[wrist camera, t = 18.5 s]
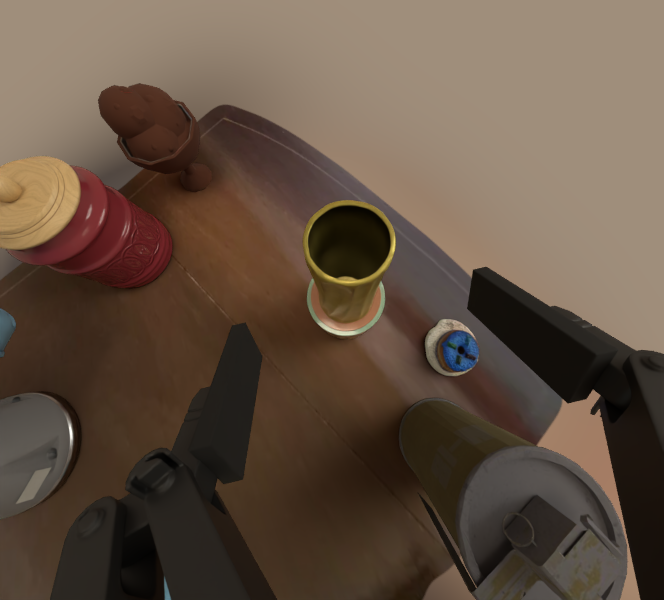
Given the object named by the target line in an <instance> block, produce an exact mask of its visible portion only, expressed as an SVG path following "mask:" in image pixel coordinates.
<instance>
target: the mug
mask: <svg viewBox="0 0 664 600" xmlns="http://www.w3.org/2000/svg"><path fill="white" fill-rule="evenodd" d="M307 304H308V309H309V311H310V314H311V316H312V317H313V319H314V320H315V322H316V323H317V324H318V325H319V326H320V327H321V328H322V329H323V330H324V331H325V332H326V333H327V334H329V335H331V336H332V337H335V338H338V339H352V338H356V337H358V336H360V335H362V334H363V333H364V332H366V331H367V330H368V329H369V328H371V327H372V326H373V325H374V324H375V323H376V322H377V320H378V319H379V317H380V316H381V314H382V311H383V308H384V304H385V292H384V288H383V285H382V282H380V284H379V286H378V289H377V291H376V294H375V296H374V298H373V303H372V306H371V308H370V310H369V312H368V313H367V314H366V315H365V316H364V317H363V318H361V319H360V320H358V321H355V322H351V323H341V322H337V321H335V320H332V319H331V318H329V317H328V316H327V315H326V314H325V313H324V311H323V310H322V308H321V306H320V303H319V292H318V289H317V287H316V284H315V282H314V279H313V278H312V280H311V282H310V284H309V287H308V292H307Z"/></svg>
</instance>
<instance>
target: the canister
mask: <svg viewBox="0 0 664 600" xmlns="http://www.w3.org/2000/svg"><path fill="white" fill-rule="evenodd" d="M399 443H400V448H401V451H402V454H403V457H404V459H405V460H406V462H407V464H408V465H409V467H410V468H411V469H412V470H413V471H414V472H415V474H416V476H417V477H418V479H419V481H420V483H421V484H422V486H423V488H424V489H425V491H426V493H427V495H428V496H429V498H430V500H431V501H432V503H433V505H434V507H435V508H436V510H437V512H438V513H439V515H440V517H441V519H442V520H443V522H444V524H445V525H446V527H447V529H448V531H449V532H450V534H451V536H452V537H453V539H454V541H455V543H456V544H457V546H458V548H459V549H460V553H461V556H462V558H463V561H464V564H465V566H466V568H467V570H468V572H469V574H470V576H471V577H472V579H473V581H474V583H475V585H476V586H477V588H476V587H475V585H474V584H473V582H472V580H471V578H470V576H469V575H468V573H467V571H466V569H465V567H464V566H463V564H462V562H461V560H460V558H459V557H458V555H457V553H456V551H455V549H454V548H453V546H452V544H451V542H450V540H449V539H448V537H447V535H446V533H445V531H444V530H443V528H442V526H441V524H440V523H439V521H438V519H437V517H436V515H435V514H434V512H433V510H432V508H431V507H430V506H429V505H428V504H427V502H426V501H425V500H424V499H423V498H422V497H421V495H420V494H419V493H418V494H419V496H420V498H421V500H422V502H423V504H424V505H425V507H426V509H427V511H428V513H429V515H430V517H431V519H432V521H433V523H434V525H435V527H436V528H437V530H438V532H439V534H440V536H441V538H442V540H443V542H444V544H445V546H446V548H447V550H448V551H449V553H450V555H451V557H452V559H453V561H454V563H455V565H456V567H457V569H458V570H459V572H460V574H461V576H462V578H463V580H464V582H465V584H466V586H467V588H468V590H469V591H470V593H471V594H472V595H473V596H474V597H475V599H476V600H620V597H621V593H622V590H623V586H624V582H625V579H626V575H627V544H626V540H625V536H624V533H623V528H622V525H621V522H620V519H619V517H618V515H617V513H616V511H615V509H614V507H613V505H612V503H611V501H610V500H609V498H608V497H607V495H606V494H605V492H604V491H603V490H602V488H601V486H600V485H599V484H598V483H597V482H596V481H595V480H594V479H593V478H592V477H591V476H590V475H589V474H588V473H587V472H586V471H584V470H583V469H582V468H581V467H580V466H579V465H578V464H576V463H575V462H573V461H572V460H570V459H568V458H566V457H565V456H563V455H561V454H559V453H557V452H554V451H551V450H548V449H546V448H543V447H538V446H536V445H534V444H532V443H530V442H528V441H526V440H524V439H522V438H520V437H518V436H516V435H513V434H511V433H509V432H507V431H505V430H503V429H501V428H499V427H497V426H495V425H493V424H491V423H489V422H487V421H485V420H483V419H481V418H479V417H477V416H475V415H473V414H471V413H469V412H467V411H465V410H463V409H462V408H461V407H459V406H458V405H456V404H455V403H453V402H451V401H448V400H445V399H440V398H429V399H424V400H422V401H419V402H417V403H416V404H414V405H413V406H412V407H411V408H410V409H409V410H408V411H407V412H406V414H405V415H404V417H403V419H402V421H401V425H400V429H399Z"/></svg>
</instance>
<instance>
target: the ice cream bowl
mask: <svg viewBox="0 0 664 600" xmlns="http://www.w3.org/2000/svg"><path fill="white" fill-rule="evenodd" d="M98 103H99V109H100V114H101V116H102V118H103V119H104V120H105V121H106V123H107V124H108V125H109V126H110V127H111V128H112V130H113V131H114V132H115V133H116V134H118V140H117V143H118V145H119V146H120V148H121V149H122V151H123V152H124V154H125V156H126V157H127V159H128V160H130V161H131V162H133V163H134V164H136V165H138V166H140V167H143V168H145V169H148V170H152V171H156V172H160V173H163V174H170V173H175V172H178V171H181V170H183V171H182V172H181V179H180V181H181V183H182V184H183V186H184V187H185V189H186V190H190V191H193V192H196V191H200V190H203V189H205V188H206V187H207V186H208V184H209V183H210V182H211V177H212V172H211V171H210V170H209V168H208V167H207V166H206V165H204V164H200V163H194V164H191V163H192V162H193V161H194V160H195V159H196V158H197V155H198V152H199V144H200V130H199V126H198V124H197V122H196V119H195V117H194V116H193V115H192V113H191V112H190V111H189V109H188V108H187V107H186V105H185V104H184V103H183V102H179V101H175V100H172V98H171V97H170V96H169V95H168V94H167V93H165V92H164V91H163V90H161V89H159V88H157V87H153V86H149V85H144V84H140V83H139V84H136V85H132V86H129V87H128V88H127V87H124V86H115V85H114V86H111V87H109V88H107V89H105V90H103V91H102V92H101V94H100V97H99V99H98Z"/></svg>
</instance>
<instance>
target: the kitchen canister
mask: <svg viewBox="0 0 664 600" xmlns="http://www.w3.org/2000/svg"><path fill="white" fill-rule="evenodd" d="M0 248H4V249H6V250H7V251H8V253H9V254H10V255H11V256H13V257H14V258H16V259H17V260H19V261H21V262H24V263H27V264H31V265H47V266H48V267H49V268H51V269H53V270H55V271H57V272H60V273H65V274H72V275H76V276H79V277H83V278H87V279H90V280H94V281H97V282H99V283H101V284H104V285H107V286H111V287H116V288H136V287H140V286H143V285H146V284H148V283H150V282H151V281H153V280H154V279H156V278H157V277H158V276H159V275H160V274H161V273H162V272H163V270H164V269H165V268H166V266H167V264H168V262H169V260H170V257H171V254H172V239H171V236H170V234H169V232H168V230H167V229H166V227H165V226H164V225H163V224H162V223H161V222H160V221H159V220H158V219H157V218H156V217H154V216H153V215H151V214H150V213H148V212H146V211H144V210H142V209H141V208H139V207H138V206H137V205H135V204H134V203H132V202H131V201H129V200H128V199H127V198H125V197H124V196H123V195H122V194H121V193H120V192H119V191H117V190H116V189H114V188H112V187H109V186H107V185H104V184H103V183H102V181H101V180H100V179H99V178H98V177H97V176H96V175H95V174H94V173H92V172H91V171H89V170H87V169H84V168H81V167H77V166H70V165H68V164H66V163H65V162H63V161H61V160H59V159H56V158H53V157H47V156H37V157H30V158H26V159H23V160H16V161H12V162H9V163H7V164H5V165H3V166H1V167H0Z"/></svg>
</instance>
